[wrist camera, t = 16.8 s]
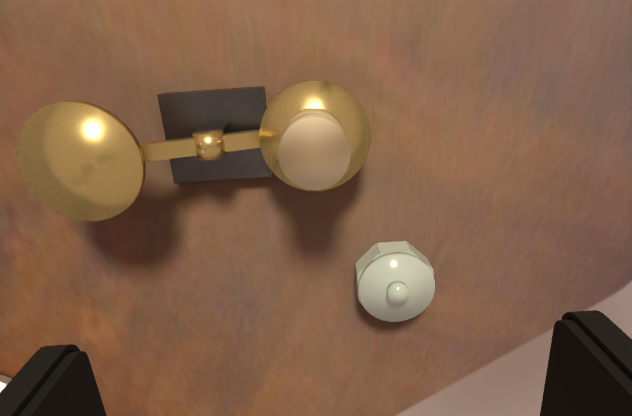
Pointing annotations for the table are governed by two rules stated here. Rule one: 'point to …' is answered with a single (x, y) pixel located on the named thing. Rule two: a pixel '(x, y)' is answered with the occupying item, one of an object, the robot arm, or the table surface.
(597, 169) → the table surface
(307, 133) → the beige cylinder
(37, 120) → the balance
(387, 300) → the lid
